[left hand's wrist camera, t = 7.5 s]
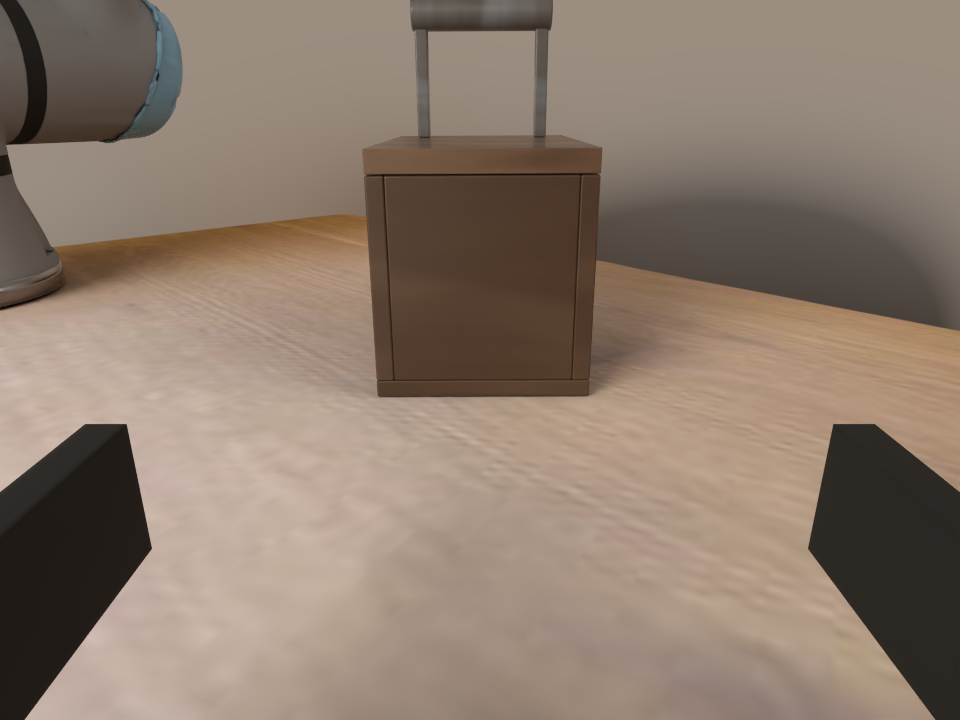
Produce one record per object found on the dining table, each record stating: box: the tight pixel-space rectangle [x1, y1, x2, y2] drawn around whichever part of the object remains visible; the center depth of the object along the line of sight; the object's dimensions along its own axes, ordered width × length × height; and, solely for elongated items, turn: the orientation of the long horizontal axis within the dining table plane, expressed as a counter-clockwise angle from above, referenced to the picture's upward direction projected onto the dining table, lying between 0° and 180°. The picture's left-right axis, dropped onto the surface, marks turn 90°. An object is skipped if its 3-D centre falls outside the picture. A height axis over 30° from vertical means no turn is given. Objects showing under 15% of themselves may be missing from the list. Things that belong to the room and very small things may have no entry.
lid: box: [362, 0, 602, 175], centre depth 34 cm, size 15×10×9 cm
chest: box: [364, 173, 600, 396], centre depth 38 cm, size 15×10×10 cm
